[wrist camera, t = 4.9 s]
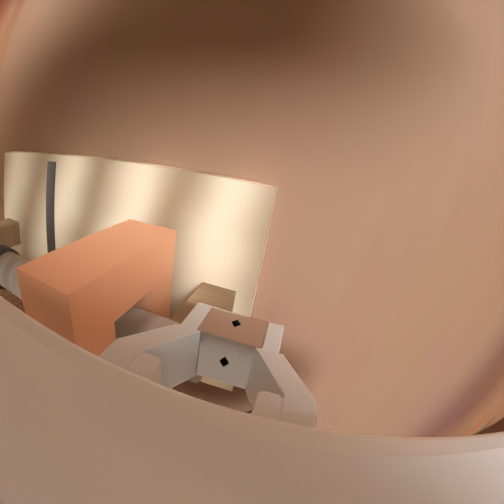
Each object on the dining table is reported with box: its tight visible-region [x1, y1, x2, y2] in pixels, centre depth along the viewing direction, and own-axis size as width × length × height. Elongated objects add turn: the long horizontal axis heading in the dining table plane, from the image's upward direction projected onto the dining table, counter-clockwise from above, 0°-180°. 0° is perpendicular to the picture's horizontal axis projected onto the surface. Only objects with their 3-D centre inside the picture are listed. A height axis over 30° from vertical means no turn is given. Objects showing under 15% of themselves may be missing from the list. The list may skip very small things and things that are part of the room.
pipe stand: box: [0, 151, 278, 391], centre depth 15 cm, size 24×14×7 cm, turn 79°
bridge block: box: [17, 219, 177, 356], centre depth 13 cm, size 3×8×8 cm, turn 169°
